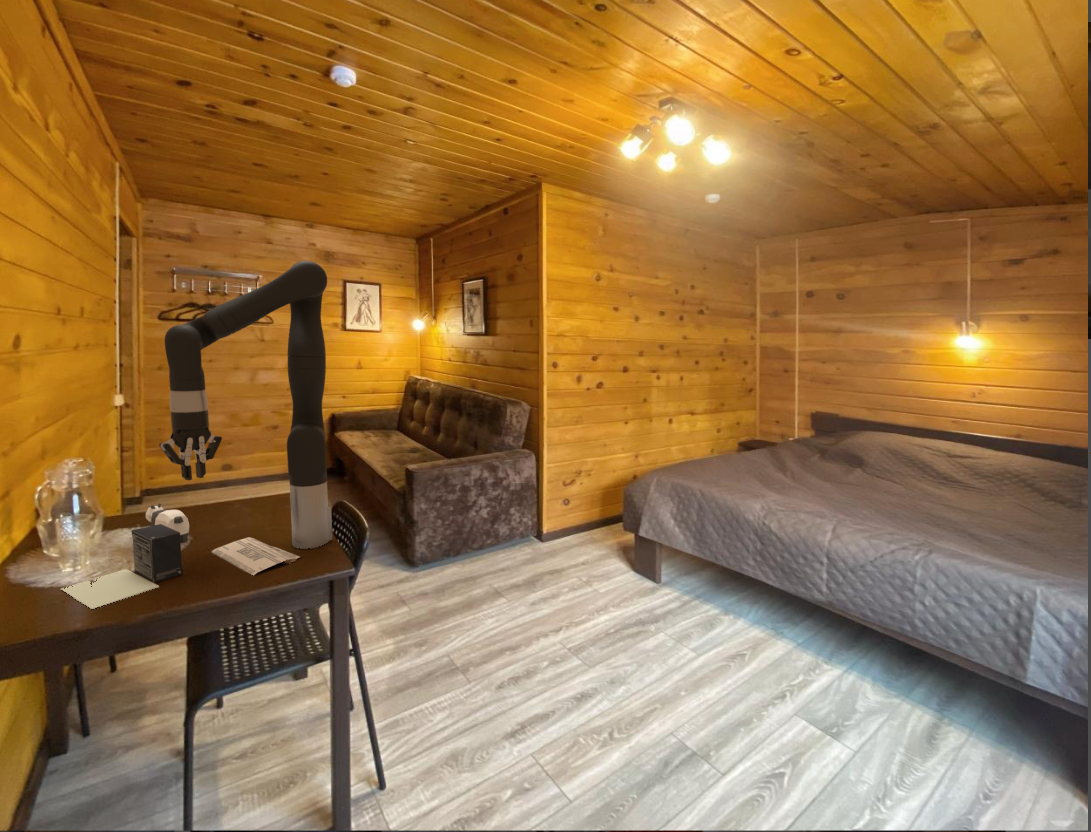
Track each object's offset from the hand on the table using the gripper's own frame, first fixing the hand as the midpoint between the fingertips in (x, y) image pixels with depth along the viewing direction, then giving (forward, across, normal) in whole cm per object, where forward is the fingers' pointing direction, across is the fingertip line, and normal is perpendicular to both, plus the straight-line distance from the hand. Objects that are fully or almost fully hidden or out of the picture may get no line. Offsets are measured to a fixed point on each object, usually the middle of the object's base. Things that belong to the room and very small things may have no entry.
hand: (194, 478), depth 128 cm
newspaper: (+22, +9, -9) cm, 25 cm away
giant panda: (+21, +2, +21) cm, 30 cm away
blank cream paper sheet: (+21, -18, 0) cm, 28 cm away
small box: (+21, -9, 0) cm, 23 cm away
